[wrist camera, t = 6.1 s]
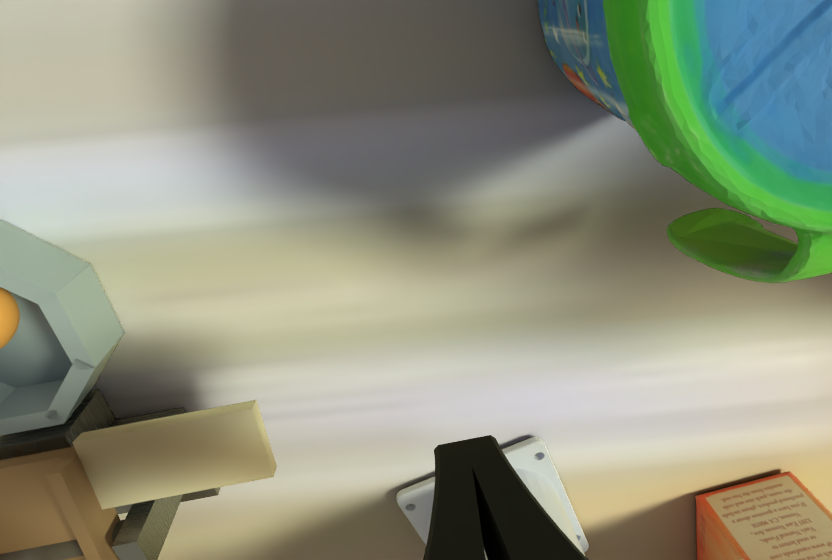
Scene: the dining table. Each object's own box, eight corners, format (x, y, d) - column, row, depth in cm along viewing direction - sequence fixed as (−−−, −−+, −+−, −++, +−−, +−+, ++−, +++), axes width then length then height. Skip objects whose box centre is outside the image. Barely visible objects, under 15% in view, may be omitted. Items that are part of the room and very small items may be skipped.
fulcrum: (220, 486, 24) (186, 593, 19) (31, 522, 24) (-49, 639, 19) (169, 376, 21) (114, 471, 16) (-48, 417, 21) (-165, 524, 16)
